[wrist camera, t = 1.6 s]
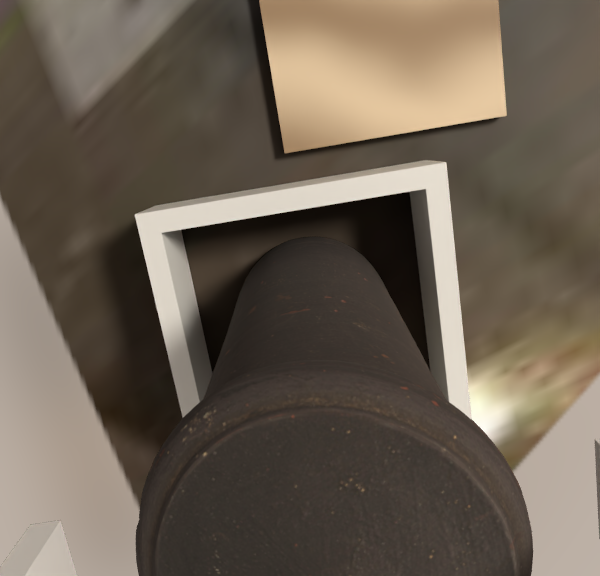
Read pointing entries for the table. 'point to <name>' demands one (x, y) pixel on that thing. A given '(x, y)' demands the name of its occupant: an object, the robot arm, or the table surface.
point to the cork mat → (381, 67)
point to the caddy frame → (296, 196)
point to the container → (327, 445)
